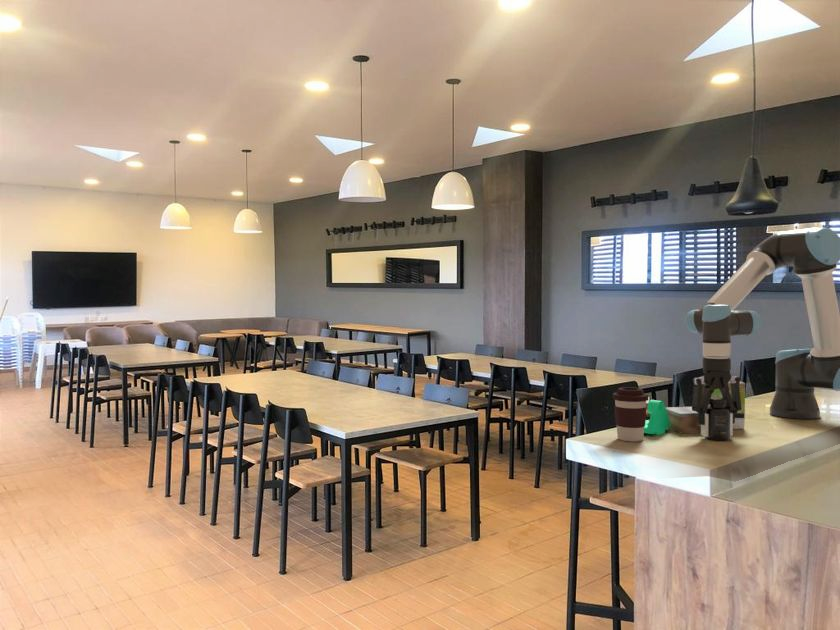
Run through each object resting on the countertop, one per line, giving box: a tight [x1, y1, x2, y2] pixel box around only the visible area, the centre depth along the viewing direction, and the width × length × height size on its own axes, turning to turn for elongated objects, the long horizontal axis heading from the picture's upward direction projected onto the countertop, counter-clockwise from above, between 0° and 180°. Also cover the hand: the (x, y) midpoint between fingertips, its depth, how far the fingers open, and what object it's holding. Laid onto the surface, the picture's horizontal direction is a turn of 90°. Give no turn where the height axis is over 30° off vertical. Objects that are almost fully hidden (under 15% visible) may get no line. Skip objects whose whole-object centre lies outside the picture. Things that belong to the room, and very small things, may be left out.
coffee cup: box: [612, 386, 649, 443], centre depth 190 cm, size 10×10×15 cm
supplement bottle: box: [704, 397, 731, 442], centre depth 189 cm, size 7×7×12 cm
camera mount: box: [644, 399, 670, 436], centre depth 200 cm, size 12×8×10 cm, turn 133°
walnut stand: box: [665, 406, 701, 434], centre depth 204 cm, size 11×11×6 cm
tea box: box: [702, 380, 746, 430], centre depth 210 cm, size 15×10×15 cm, turn 168°
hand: (716, 435), depth 190 cm, fingers closed on supplement bottle, 7 cm apart
